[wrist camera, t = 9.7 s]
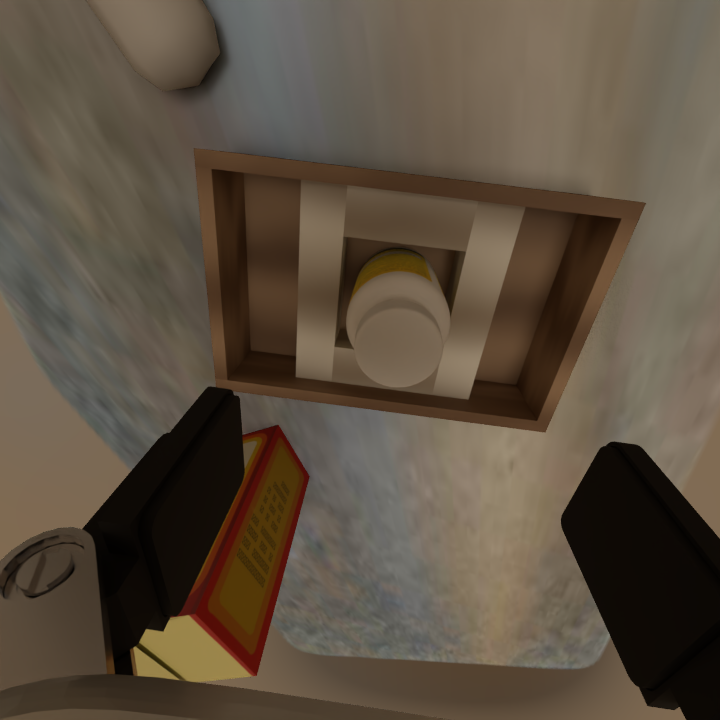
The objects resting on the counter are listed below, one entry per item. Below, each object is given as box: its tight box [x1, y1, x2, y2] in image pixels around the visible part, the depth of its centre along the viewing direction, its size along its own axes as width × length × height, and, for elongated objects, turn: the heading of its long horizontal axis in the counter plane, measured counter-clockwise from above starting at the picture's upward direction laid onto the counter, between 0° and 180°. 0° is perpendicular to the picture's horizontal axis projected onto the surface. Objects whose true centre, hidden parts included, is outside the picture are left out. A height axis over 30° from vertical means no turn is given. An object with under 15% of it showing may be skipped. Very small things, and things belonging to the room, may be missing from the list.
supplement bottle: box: [346, 247, 450, 387], centre depth 20 cm, size 5×5×10 cm
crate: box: [194, 148, 646, 432], centre depth 23 cm, size 14×22×6 cm, turn 84°
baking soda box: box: [134, 425, 309, 682], centre depth 28 cm, size 10×6×16 cm
